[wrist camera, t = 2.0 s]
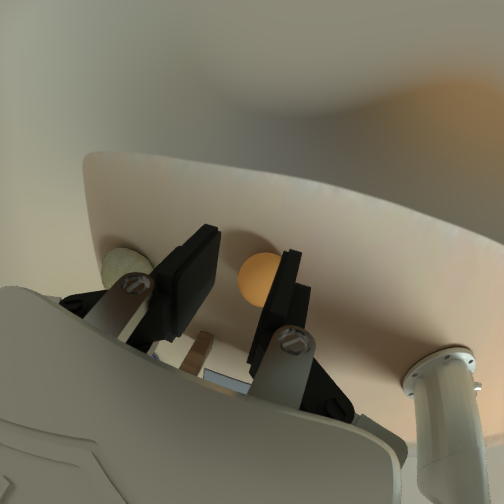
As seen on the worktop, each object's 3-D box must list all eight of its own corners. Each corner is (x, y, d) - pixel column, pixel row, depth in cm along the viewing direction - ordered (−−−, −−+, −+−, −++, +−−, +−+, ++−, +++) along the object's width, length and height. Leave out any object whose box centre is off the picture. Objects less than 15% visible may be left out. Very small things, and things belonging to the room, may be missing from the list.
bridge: (200, 331, 38) (172, 378, 30) (296, 362, 36) (283, 417, 28) (199, 343, 39) (173, 389, 32) (290, 373, 38) (277, 425, 30)
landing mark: (272, 390, 41) (272, 391, 41) (258, 416, 47) (257, 417, 47) (205, 368, 43) (204, 369, 43) (202, 397, 49) (202, 398, 49)
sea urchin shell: (102, 234, 32) (106, 279, 27) (156, 236, 37) (169, 278, 32) (98, 280, 37) (104, 323, 32) (145, 279, 42) (156, 320, 37)
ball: (302, 252, 28) (295, 282, 23) (288, 292, 30) (279, 325, 26) (251, 236, 28) (234, 263, 24) (243, 278, 31) (226, 308, 27)
